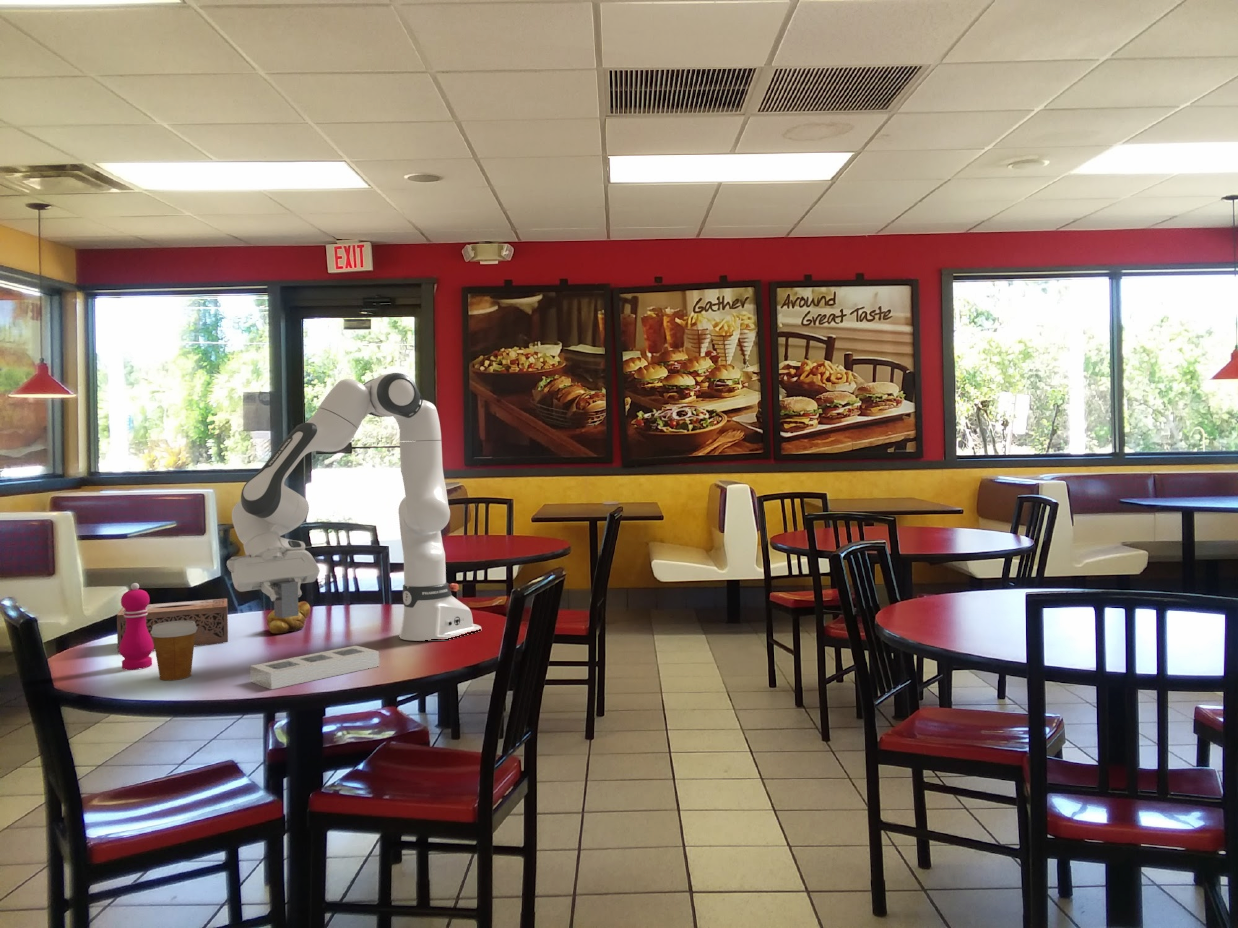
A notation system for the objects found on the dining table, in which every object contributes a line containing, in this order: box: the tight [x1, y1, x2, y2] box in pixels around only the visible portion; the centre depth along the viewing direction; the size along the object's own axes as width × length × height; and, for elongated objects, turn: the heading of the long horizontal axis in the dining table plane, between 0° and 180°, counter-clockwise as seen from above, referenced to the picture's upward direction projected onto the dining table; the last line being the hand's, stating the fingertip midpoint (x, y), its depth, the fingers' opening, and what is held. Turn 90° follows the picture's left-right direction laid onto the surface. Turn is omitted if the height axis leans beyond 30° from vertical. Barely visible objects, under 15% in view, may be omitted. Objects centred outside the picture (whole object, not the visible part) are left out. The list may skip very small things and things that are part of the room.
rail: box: [249, 645, 380, 690], centre depth 202 cm, size 26×10×4 cm, turn 137°
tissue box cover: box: [116, 598, 229, 653], centre depth 239 cm, size 26×14×10 cm, turn 113°
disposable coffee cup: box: [151, 621, 198, 681], centre depth 201 cm, size 10×10×12 cm
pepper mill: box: [119, 582, 154, 670], centre depth 212 cm, size 7×7×20 cm
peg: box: [273, 580, 299, 618], centre depth 211 cm, size 4×4×8 cm
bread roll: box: [266, 600, 311, 634], centre depth 253 cm, size 13×10×8 cm
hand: (287, 597), depth 211 cm, fingers closed on peg, 4 cm apart
